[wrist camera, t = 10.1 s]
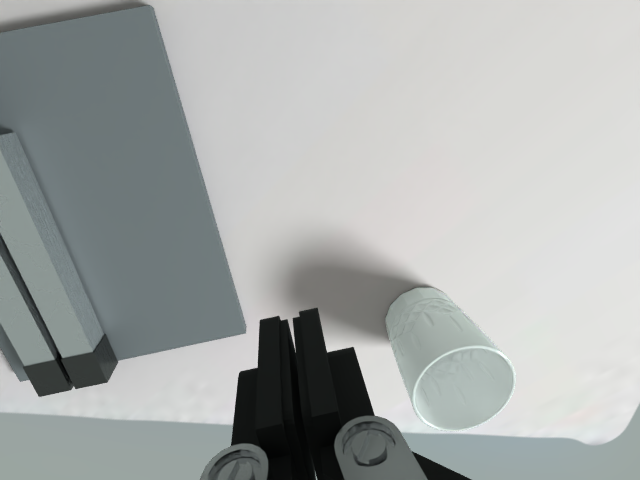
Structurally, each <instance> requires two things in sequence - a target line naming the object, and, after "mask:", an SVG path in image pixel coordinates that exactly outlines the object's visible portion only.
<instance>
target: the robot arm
mask: <svg viewBox="0 0 640 480" xmlns="http://www.w3.org/2000/svg"><path fill="white" fill-rule="evenodd" d="M299 315H300V317H296V318H293V326H294V337H295V348H296V352H295V348H294V344H293V340H292V336H291V332H290V328H289V324H288V320H287V319H286V320H282V321H281V320H280V317H279V316H276V317H272V318H267V319H262V320H260V328H259V350H258V368H254V369H250V370H245V371H240V373H239V377H238V386H237V395H236V404H235V414H234V423H233V434H232V442H231V446H230V447H228V448H226V449H224V450H222V451H221V452H220V453H218V454H217V455H216V456H215V457H213V458H212V459H211V461H210V462H209V463H208V464H207V465H206V467H205V469H204V471H203V473H202V475H201V478H200V480H316V476H317V479H318V480H471V479H469V478H467V477H465V476H463V475H461V474H459V473H456V472H454V471H452V470H450V469H448V468H446V467H444V466H442V465H440V464H438V463H435V462H433V461H431V460H429V459H427V458H425V457H423V456H421V455H419V454H417V453H414V452H412V451H411V450H410V448H409V446H408V444H407V443H406V441H405V439H404V438H403V436H402V434H401V432H400V431H399V429H398V428H397V427H396V426H395V425H394V424H393V423H392V422H390V421H389V420H387V419H385V418H382V417H378V416H375V415H374V412H373V409H372V406H371V402H370V399H369V396H368V392H367V389H366V386H365V383H364V379H363V376H362V373H361V370H360V366H359V363H358V360H357V356H356V353H355V350H354V348H353V347H351V348H346V349H342V350H337V351H332V352H328V353H327V351H326V346H325V341H324V337H323V332H322V327H321V322H320V317H319V313H318V308H314V309H309V310H304V311H300V312H299ZM315 472H316V476H315Z"/></svg>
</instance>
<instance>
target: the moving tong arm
mask: <svg viewBox="0 0 640 480" xmlns="http://www.w3.org/2000/svg"><path fill="white" fill-rule="evenodd" d="M0 233H1V235H2V237H3V239H4V241H5V243H6V245H7V247H8V249H9V251H10V253H11V255H12V257H13V259H14V261H15V263H16V265H17V267H18V269H19V271H20V273H21V276H22V278H23V280H24V282H25V284H26V286H27V288H28V290H29V292H30V294H31V296H32V298H33V300H34V302H35V304H36V306H37V308H38V310H39V312H40V314H41V316H42V318H43V320H44V322H45V324H46V326H47V328H48V330H49V332H50V334H51V336H52V338H53V340H54V342H55V344H56V346H57V348H58V350H59V352H60V354H61V356H62V359H61V361H62V363H63V365H64V367H65V369H66V371H67V373H68V375H69V377H70V379H71V381H72V383H73V385H74V387H75V389H78V388H83V387H88V386H93V385H97V384H102V383H107V382H108V380H109V379H110V377H111V375H112V373H113V371H114V369H115V367H116V365H117V364H118V361H117V358H116V356H115V354H114V351H113V349H112V347H111V345H110V342H109V340H108V338H107V335H106V334H104V333H103V331H102V329H101V326H100V324H99V322H98V319H97V317H96V315H95V313H94V310H93V308H92V306H91V303H90V301H89V299H88V297H87V294H86V292H85V290H84V287H83V285H82V283H81V281H80V278H79V276H78V274H77V271H76V269H75V267H74V265H73V262H72V260H71V258H70V255H69V253H68V251H67V249H66V246H65V244H64V242H63V239H62V237H61V235H60V233H59V230H58V228H57V226H56V223H55V221H54V219H53V217H52V214H51V212H50V210H49V207H48V205H47V203H46V201H45V198H44V196H43V194H42V191H41V189H40V187H39V185H38V182H37V180H36V178H35V175H34V173H33V171H32V169H31V166H30V164H29V162H28V159H27V157H26V155H25V153H24V150H23V148H22V146H21V143H20V141H19V139H18V137H17V134H16V132H13V133H8V134H2V135H0Z"/></svg>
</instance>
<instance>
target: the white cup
mask: <svg viewBox="0 0 640 480" xmlns="http://www.w3.org/2000/svg"><path fill="white" fill-rule="evenodd" d="M385 321H386V328H387V334H388V336H389V339H390V342H391V346H392V350H393V353H394V356H395V358H396V362H397V365H398V368H399V371H400V374H401V376H402V379H403V382H404V384H405V387H406V390H407V392H408V395H409V398H410V401H411V403H412V406H413V409H414V411H415V413H416V415H417V416H418V418H419V419H420V420H421V421H422V422H423V423H425V424H426V425H428V426H430V427H432V428H434V429H437V430H441V431H450V432H454V431H463V430H468V429H472V428H475V427H477V426H480V425H482V424H484V423H486V422H487V421H489V420H490V419H492V418H493V417H495V416H496V415H497V414H498V413H499V412H500V411H501V410H502V409H503V408H504V407H505V406H506V404H507V403H508V401H509V400H510V398H511V396H512V394H513V391H514V388H515V383H516V375H515V370H514V367H513V365H512V363H511V361H510V360H509V359H508V357H507V356H506V355H505V354H504V353H503V352H502V351H501V350H500V349H499V348H498V347H497V346H496V345H495V344H494V342H493V341H492V340H491V339H490V338H489V337H488V336H487V335H486V334H485V333H484V332H483V331H482V329H481V328H480V327H479V326H478V325H477V324H476V323H475V322H474V321H473V320H472V319H471V318H470V317H469V316H468V315H467V314H466V313H465V312H464V311H463V310H462V309H460V308H459V307H458V306H456V304H455V303H454V302H453V301H452V300H451V299H450V298H449V297H448V296H447V295H446V294H445V293H443V292H441V291H439V290H437V289H435V288H432V287H428V288H415V289H412V290H410V291H408V292H405V293H403V294H401V295H400V296H399V297H398V298H397V299H396V300H395V301H394V302H393V303H392V304H391V305H390V308H389V311H388V313H387V316H386V319H385Z"/></svg>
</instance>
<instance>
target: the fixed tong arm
mask: <svg viewBox="0 0 640 480" xmlns="http://www.w3.org/2000/svg"><path fill="white" fill-rule="evenodd" d="M0 323H1V325H2V327H3V329H4V330H5V332H6V334H7V336H8V338H9V339H10V341H11V343H12V345H13V347H14V348H15V350H16V352H17V354H18V355H19V357H20V359H21V361H22V363H23V364H24V367H23V369H24V371H25V373H26V374H27V376H28V378H29V380H30V382H31V383H32V385H33V387H34V389H35V390H36V392H37V394H38V396H39V397H41V396H46V395H50V394H55V393H59V392H64V391H69V390H71V389H72V388H73V386H74V385H73V383H72V381H71V379H70V377H69V375H68V373H67V371H66V369H65V367H64V365H63V363H62V361H61V359H62V356H61V354H60V352H59V350H58V348H57V346H56V344H55V342H54V340H53V338H52V336H51V334H50V332H49V330H48V328H47V326H46V324H45V322H44V320H43V318H42V316H41V314H40V312H39V310H38V308H37V306H36V304H35V302H34V300H33V298H32V296H31V294H30V292H29V290H28V288H27V286H26V284H25V282H24V280H23V278H22V276H21V273H20V271H19V269H18V267H17V265H16V263H15V261H14V259H13V257H12V255H11V253H10V251H9V249H8V247H7V245H6V243H5V241H4V239H3V237H2V235H1V233H0Z"/></svg>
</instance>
